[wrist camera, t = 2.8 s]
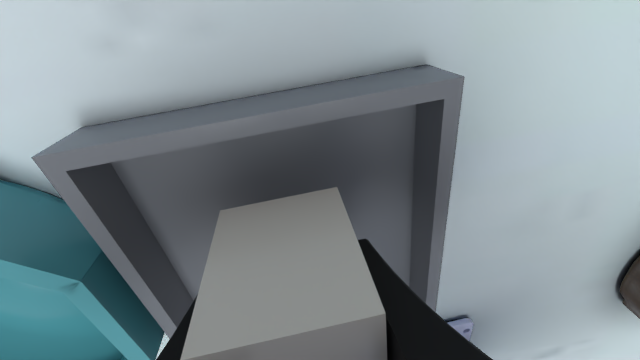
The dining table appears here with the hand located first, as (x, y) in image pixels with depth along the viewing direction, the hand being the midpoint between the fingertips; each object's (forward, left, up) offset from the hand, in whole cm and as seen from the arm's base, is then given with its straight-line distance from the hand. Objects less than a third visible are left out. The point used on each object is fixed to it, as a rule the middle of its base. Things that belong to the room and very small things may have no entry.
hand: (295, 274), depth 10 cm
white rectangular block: (0, 0, -1) cm, 1 cm away
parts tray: (-3, 0, -4) cm, 5 cm away
